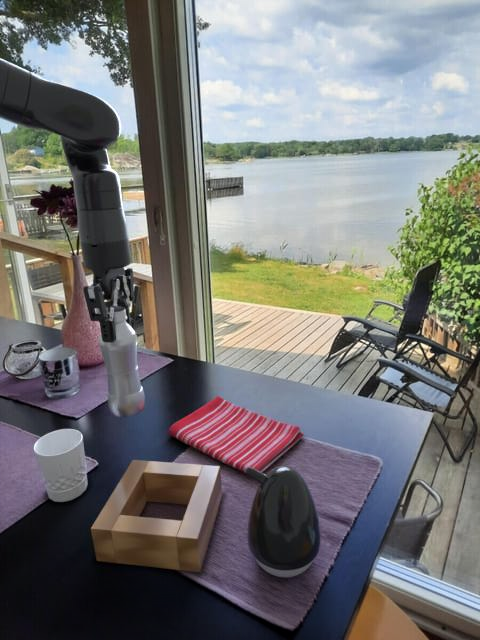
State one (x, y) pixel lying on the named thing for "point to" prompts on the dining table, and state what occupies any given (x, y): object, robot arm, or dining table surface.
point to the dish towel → (236, 435)
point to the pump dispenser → (283, 522)
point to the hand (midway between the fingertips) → (117, 334)
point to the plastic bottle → (122, 368)
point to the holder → (152, 533)
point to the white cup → (62, 464)
